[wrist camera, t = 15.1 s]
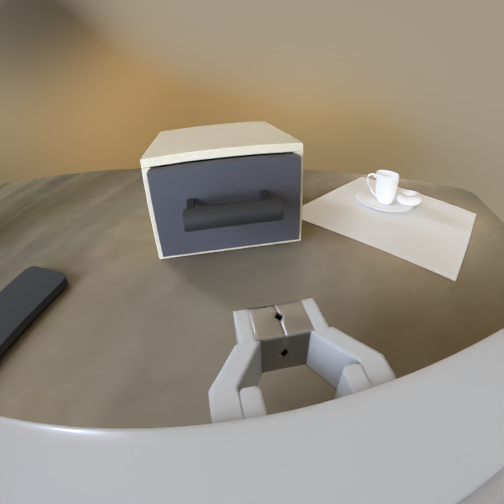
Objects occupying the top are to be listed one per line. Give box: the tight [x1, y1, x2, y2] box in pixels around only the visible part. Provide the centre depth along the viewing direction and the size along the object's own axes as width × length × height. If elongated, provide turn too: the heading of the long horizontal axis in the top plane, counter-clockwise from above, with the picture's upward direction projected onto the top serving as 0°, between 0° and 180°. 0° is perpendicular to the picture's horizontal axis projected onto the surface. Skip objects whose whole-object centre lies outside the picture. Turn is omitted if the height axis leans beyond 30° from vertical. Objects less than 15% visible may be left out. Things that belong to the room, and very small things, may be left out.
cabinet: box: [140, 121, 303, 259], centre depth 32 cm, size 16×14×10 cm
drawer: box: [147, 152, 301, 257], centre depth 29 cm, size 19×12×8 cm, turn 10°
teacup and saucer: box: [355, 170, 423, 213], centre depth 35 cm, size 9×8×4 cm
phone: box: [0, 266, 67, 356], centre depth 19 cm, size 7×1×15 cm
